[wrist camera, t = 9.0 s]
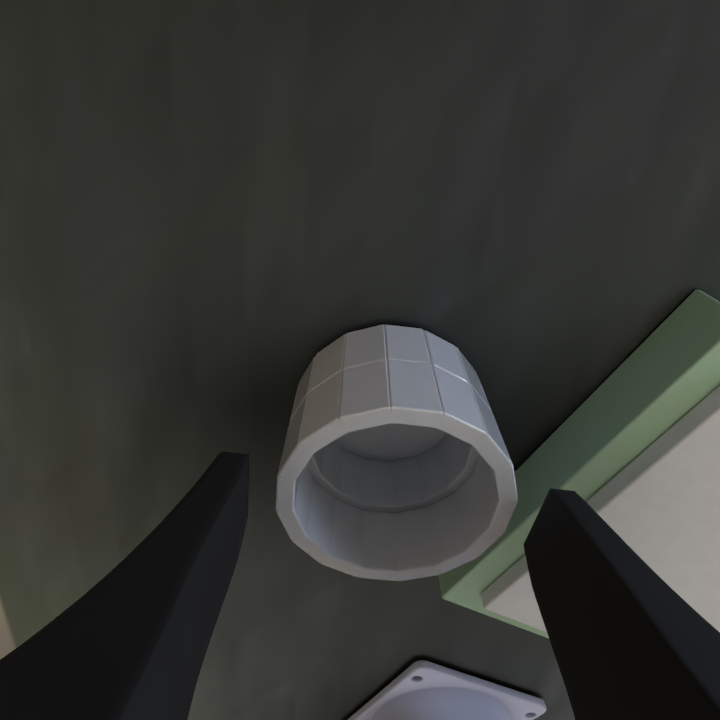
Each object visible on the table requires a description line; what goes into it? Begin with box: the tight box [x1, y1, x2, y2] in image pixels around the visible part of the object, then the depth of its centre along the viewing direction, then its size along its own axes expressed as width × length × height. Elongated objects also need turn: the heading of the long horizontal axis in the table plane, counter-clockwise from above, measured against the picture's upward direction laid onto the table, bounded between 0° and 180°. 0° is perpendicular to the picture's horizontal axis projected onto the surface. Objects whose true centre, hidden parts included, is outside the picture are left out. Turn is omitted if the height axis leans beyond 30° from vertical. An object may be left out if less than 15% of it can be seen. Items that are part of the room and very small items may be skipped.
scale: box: [438, 289, 720, 638], centre depth 16 cm, size 13×13×3 cm
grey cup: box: [275, 324, 518, 581], centre depth 13 cm, size 6×6×4 cm
